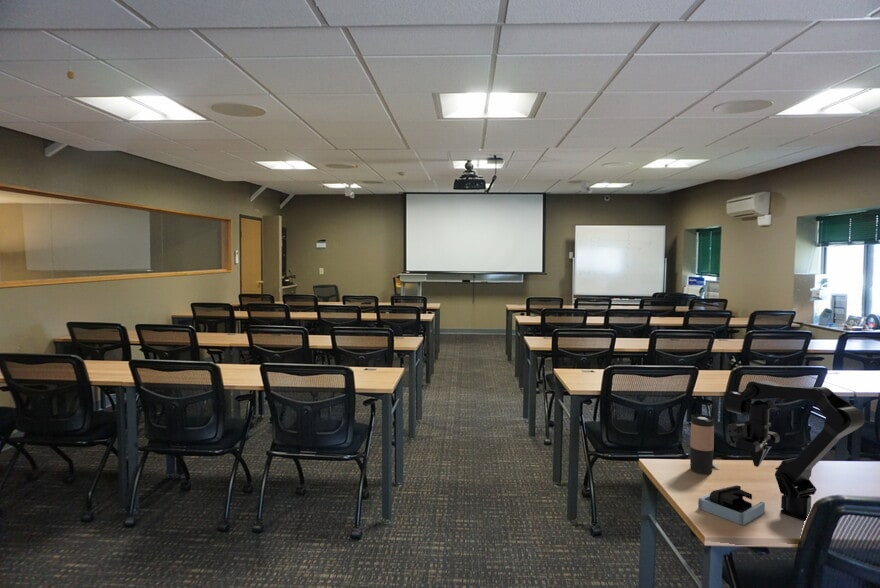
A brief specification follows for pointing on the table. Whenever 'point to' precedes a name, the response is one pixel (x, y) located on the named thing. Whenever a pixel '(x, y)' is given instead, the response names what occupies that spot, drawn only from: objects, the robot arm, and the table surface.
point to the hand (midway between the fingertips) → (756, 466)
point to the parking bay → (729, 513)
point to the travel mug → (701, 443)
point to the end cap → (731, 498)
